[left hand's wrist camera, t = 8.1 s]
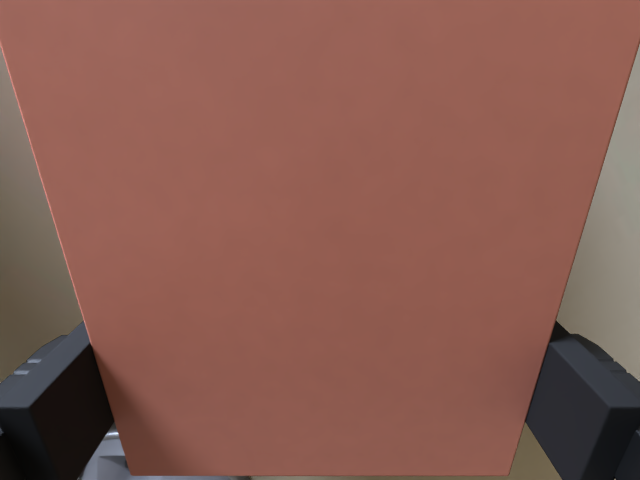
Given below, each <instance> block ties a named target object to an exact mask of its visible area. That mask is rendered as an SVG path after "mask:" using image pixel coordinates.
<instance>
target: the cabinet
mask: <svg viewBox="0 0 640 480" xmlns="http://www.w3.org/2000/svg"><path fill="white" fill-rule="evenodd" d="M639 44H640V0H0V46H1V49H2V52H3V56H4V59H5V62H6V66H7V69H8V72H9V75H10V79H11V82H12V85H13V89H14V92H15V95H16V99H17V102H18V105H19V108H20V112H21V115H22V118H23V122H24V125H25V128H26V132H27V135H28V138H29V141H30V145H31V148H32V151H33V155H34V158H35V161H36V164H37V168H38V171H39V174H40V178H41V181H42V184H43V188H44V191H45V194H46V197H47V201H48V204H49V207H50V211H51V214H52V217H53V221H54V224H55V227H56V230H57V234H58V237H59V240H60V244H61V247H62V250H63V254H64V257H65V260H66V263H67V267H68V270H69V273H70V277H71V280H72V283H73V286H74V290H75V293H76V296H77V300H78V303H79V306H80V310H81V313H82V316H83V319H84V323H85V326H86V329H87V333H88V336H89V339H90V343H91V346H92V349H93V352H94V356H95V359H96V362H97V366H98V369H99V372H100V376H101V379H102V382H103V385H104V389H105V392H106V395H107V399H108V402H109V405H110V408H111V412H112V415H113V418H114V422H115V425H116V428H117V432H118V435H119V438H120V441H121V445H122V448H123V451H124V455H125V458H126V461H127V465H128V468H129V471H130V474H131V475H132V476H508V475H509V473H510V470H511V466H512V463H513V460H514V456H515V453H516V450H517V447H518V443H519V440H520V437H521V433H522V430H523V427H524V423H525V420H526V417H527V414H528V410H529V407H530V404H531V400H532V397H533V394H534V390H535V387H536V384H537V381H538V377H539V374H540V371H541V367H542V364H543V361H544V357H545V354H546V351H547V348H548V344H549V341H550V338H551V334H552V331H553V328H554V324H555V321H556V318H557V315H558V311H559V308H560V305H561V301H562V298H563V295H564V291H565V288H566V285H567V282H568V278H569V275H570V272H571V268H572V265H573V262H574V258H575V255H576V252H577V249H578V245H579V242H580V239H581V235H582V232H583V229H584V225H585V222H586V219H587V216H588V212H589V209H590V206H591V202H592V199H593V196H594V192H595V189H596V186H597V183H598V179H599V176H600V173H601V169H602V166H603V163H604V159H605V156H606V153H607V150H608V146H609V143H610V140H611V136H612V133H613V130H614V126H615V123H616V120H617V117H618V113H619V110H620V107H621V103H622V100H623V97H624V93H625V90H626V87H627V84H628V80H629V77H630V74H631V70H632V67H633V64H634V60H635V57H636V54H637V51H638V47H639Z"/></svg>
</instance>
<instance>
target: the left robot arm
mask: <svg viewBox="0 0 640 480" xmlns="http://www.w3.org/2000/svg"><path fill="white" fill-rule="evenodd" d="M525 422H526V424H527V425H528V427H529V428H530V430H531V431H532V433H533V434H534V436H535V438H536V439H537V441H538V442H539V444H540V445H541V447H542V449H543V450H544V452H545V453H546V455H547V456H548V458H549V460H550V461H551V463H552V464H553V466H554V467H555V469H556V470H557V472H558V474H559V475H560V477H561V478H562V480H614V479H616V480H640V382H639V381H638V380H637V379H636V378H635V377H633V376H632V375H631V374H630V373H627V372H626V370H625V369H624V368H623V367H622V366H621V365H620V364H619V363H617V362H614V361H613V358H612V357H611V356H610V355H608V354H607V353H606V352H605V351H604V350H603V349H602V348H600V347H599V346H598V345H596V344H595V343H593V342H591V341H589V340H588V339H586V338H584V337H582V336H581V335H579V334H570V333H569V332H568V331H566V330H565V329H564V328H563V327H562V326H561V325H560V324H559V323H558V322H557V321H555V324H554V328H553V331H552V334H551V338H550V341H549V344H548V348H547V351H546V354H545V357H544V361H543V364H542V367H541V371H540V374H539V377H538V381H537V384H536V387H535V390H534V394H533V397H532V400H531V404H530V407H529V410H528V414H527V417H526V420H525ZM0 480H249V477H248V476H132V475H131V474H130V471H129V468H128V465H127V461H126V458H125V455H124V451H123V448H122V445H121V441H120V438H119V435H118V432H117V428H116V425H115V422H114V418H113V415H112V412H111V408H110V405H109V402H108V399H107V395H106V392H105V389H104V385H103V382H102V379H101V376H100V372H99V369H98V366H97V362H96V359H95V356H94V352H93V349H92V346H91V343H90V339H89V336H88V333H87V329H86V326H85V323H84V321H83V322H82V323H81V324H80V325H78V326H77V327H76V328H75V329H74V330H73V331H72V332H71V333H70V334H69V335H61V336H60V337H58V338H56V339H54V340H53V341H51V342H49V343H47V344H46V345H44V346H42V347H41V348H40V349H39V350H38V351H36V352H35V353H34V354H33V355H32V356H31V357H30V358H29V359H27V362H26V363H23V364H22V365H21V366H19V367H18V368H17V369H16V370H15V371H14V374H13V375H9V376H8V377H7V378H6V379H5V380H4V381H3V382H1V383H0Z"/></svg>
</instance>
